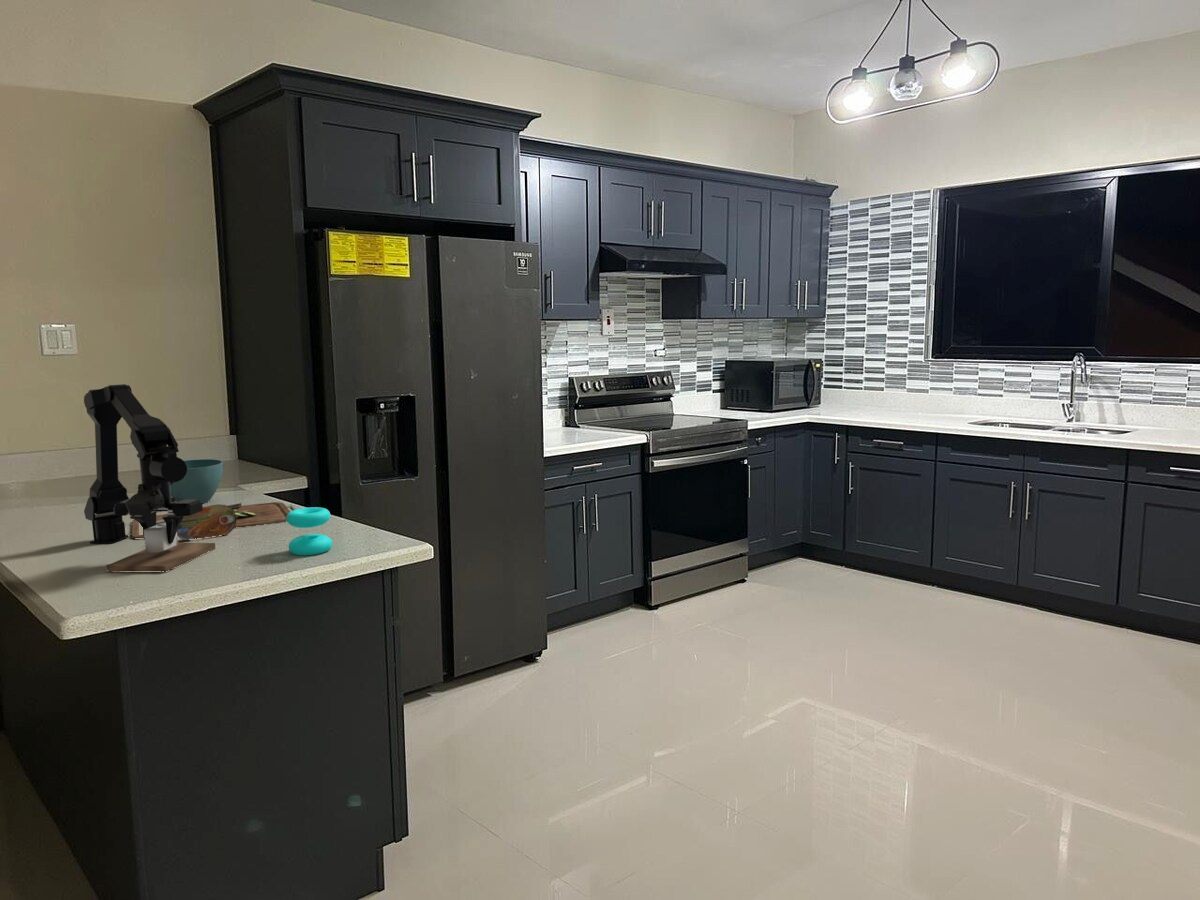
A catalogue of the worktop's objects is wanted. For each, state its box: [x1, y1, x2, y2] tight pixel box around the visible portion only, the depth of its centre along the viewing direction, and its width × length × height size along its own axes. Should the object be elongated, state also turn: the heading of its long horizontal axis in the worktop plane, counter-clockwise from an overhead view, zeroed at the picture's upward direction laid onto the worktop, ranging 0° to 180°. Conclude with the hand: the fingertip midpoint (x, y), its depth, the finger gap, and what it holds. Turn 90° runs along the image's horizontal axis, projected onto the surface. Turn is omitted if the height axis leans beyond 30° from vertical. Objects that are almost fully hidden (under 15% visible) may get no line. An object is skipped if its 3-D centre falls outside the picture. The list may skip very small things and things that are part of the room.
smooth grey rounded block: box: [144, 523, 179, 553], centre depth 200 cm, size 4×9×5 cm, turn 174°
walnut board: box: [106, 542, 216, 573], centre depth 201 cm, size 14×20×2 cm
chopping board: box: [124, 501, 297, 539], centre depth 241 cm, size 45×27×3 cm, turn 118°
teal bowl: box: [170, 458, 224, 504], centre depth 265 cm, size 18×18×12 cm
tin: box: [177, 503, 237, 541], centre depth 221 cm, size 15×3×8 cm, turn 126°
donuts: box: [286, 506, 333, 556], centre depth 205 cm, size 10×10×10 cm
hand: (161, 543), depth 200 cm, fingers closed on smooth grey rounded block, 4 cm apart
